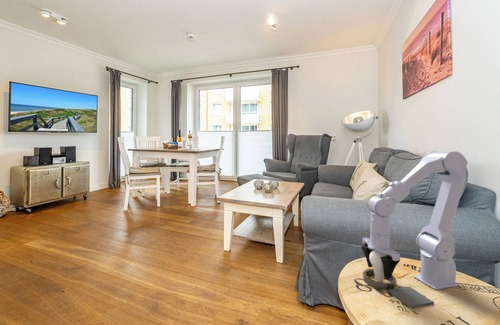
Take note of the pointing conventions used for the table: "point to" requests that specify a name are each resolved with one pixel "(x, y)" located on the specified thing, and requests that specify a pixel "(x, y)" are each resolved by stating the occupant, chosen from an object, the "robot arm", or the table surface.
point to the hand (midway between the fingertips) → (379, 271)
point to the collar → (378, 284)
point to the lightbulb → (377, 264)
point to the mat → (410, 297)
